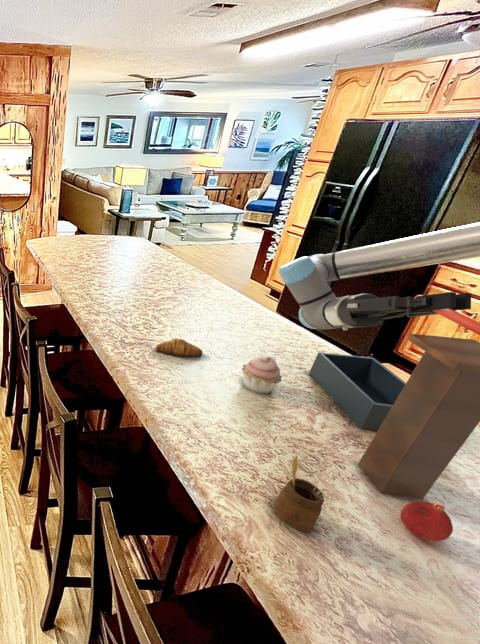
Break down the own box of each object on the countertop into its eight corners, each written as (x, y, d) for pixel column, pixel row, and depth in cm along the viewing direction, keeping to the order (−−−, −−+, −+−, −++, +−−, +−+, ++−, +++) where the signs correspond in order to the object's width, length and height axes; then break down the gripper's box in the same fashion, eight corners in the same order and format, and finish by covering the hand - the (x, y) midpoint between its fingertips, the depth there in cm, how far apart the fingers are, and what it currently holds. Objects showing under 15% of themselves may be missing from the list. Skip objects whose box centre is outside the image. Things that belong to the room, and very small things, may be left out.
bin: (308, 374, 110) (318, 352, 106) (361, 380, 108) (373, 357, 104) (359, 429, 90) (374, 404, 86) (426, 438, 88) (444, 412, 84)
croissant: (197, 350, 120) (201, 336, 118) (204, 362, 114) (208, 347, 112) (152, 345, 122) (156, 331, 120) (157, 357, 116) (160, 342, 114)
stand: (341, 455, 83) (409, 333, 69) (394, 462, 81) (474, 339, 68) (372, 495, 74) (458, 363, 60) (433, 504, 72) (534, 371, 59)
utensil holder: (304, 539, 65) (333, 490, 60) (264, 512, 70) (287, 464, 65) (317, 521, 69) (345, 473, 63) (278, 495, 73) (301, 449, 68)
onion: (403, 544, 65) (427, 513, 61) (385, 515, 70) (406, 484, 66) (447, 556, 63) (474, 524, 60) (425, 525, 68) (449, 494, 65)
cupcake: (230, 385, 104) (241, 354, 100) (244, 373, 110) (255, 343, 105) (269, 403, 98) (282, 370, 93) (281, 389, 103) (295, 357, 99)
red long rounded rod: (410, 300, 75) (414, 293, 74) (419, 301, 74) (423, 294, 74) (501, 348, 59) (507, 339, 58) (513, 349, 58) (519, 340, 58)
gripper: (390, 330, 88) (510, 326, 65) (319, 324, 90) (411, 318, 67) (391, 298, 88) (511, 282, 65) (321, 292, 91) (412, 275, 67)
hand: (460, 300), depth 66 cm, fingers closed on red long rounded rod, 1 cm apart
